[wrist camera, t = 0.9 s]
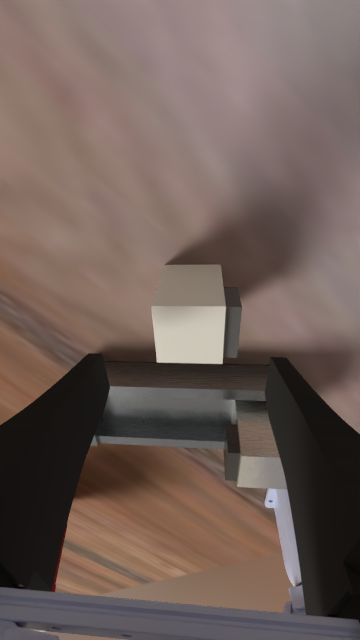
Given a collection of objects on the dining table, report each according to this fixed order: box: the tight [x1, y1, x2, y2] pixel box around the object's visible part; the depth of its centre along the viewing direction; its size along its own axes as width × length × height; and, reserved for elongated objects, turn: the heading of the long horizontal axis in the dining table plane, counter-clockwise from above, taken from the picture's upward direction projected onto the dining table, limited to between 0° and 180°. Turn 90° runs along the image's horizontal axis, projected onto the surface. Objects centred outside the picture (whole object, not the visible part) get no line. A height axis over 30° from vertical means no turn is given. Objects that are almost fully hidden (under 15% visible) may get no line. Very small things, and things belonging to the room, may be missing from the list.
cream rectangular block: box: [151, 265, 242, 364], centre depth 17 cm, size 4×4×5 cm
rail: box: [90, 362, 287, 490], centre depth 22 cm, size 7×16×7 cm, turn 92°
